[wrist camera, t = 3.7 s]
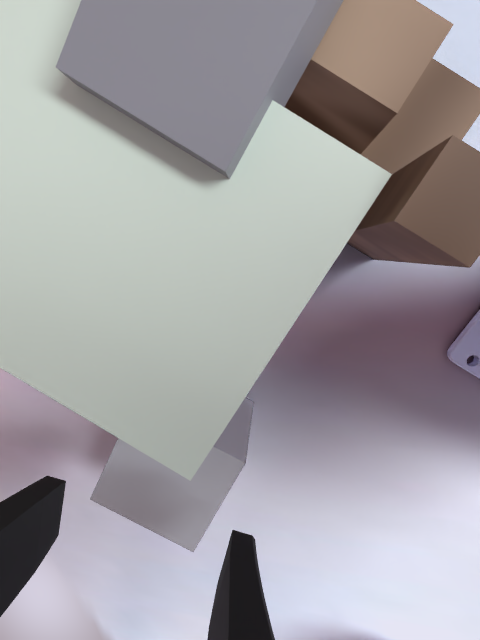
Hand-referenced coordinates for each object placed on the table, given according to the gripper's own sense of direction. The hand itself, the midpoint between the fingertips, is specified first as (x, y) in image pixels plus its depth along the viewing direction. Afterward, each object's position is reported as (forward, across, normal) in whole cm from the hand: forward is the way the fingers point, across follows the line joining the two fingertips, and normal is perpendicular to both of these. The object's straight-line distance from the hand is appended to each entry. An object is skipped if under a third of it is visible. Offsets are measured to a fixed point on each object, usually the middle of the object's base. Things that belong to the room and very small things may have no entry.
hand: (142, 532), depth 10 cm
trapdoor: (+2, +2, -12) cm, 12 cm away
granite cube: (+7, 0, 0) cm, 7 cm away
